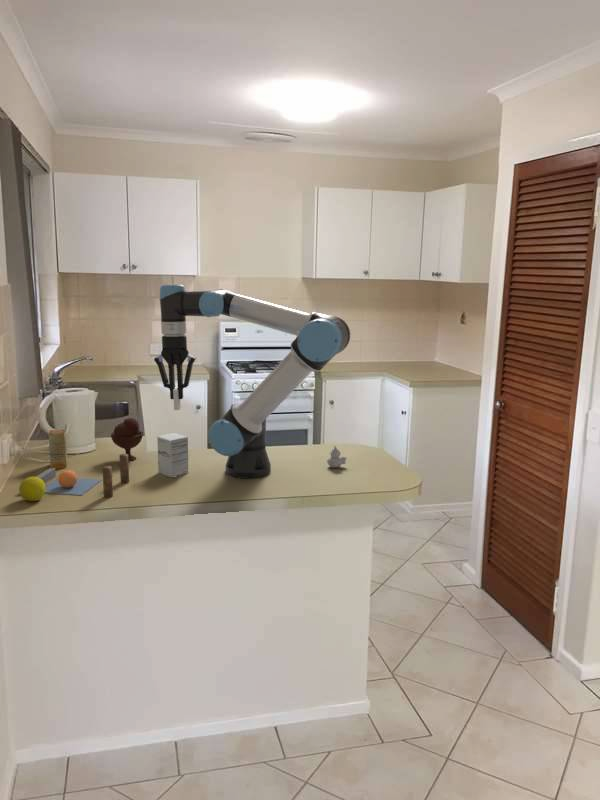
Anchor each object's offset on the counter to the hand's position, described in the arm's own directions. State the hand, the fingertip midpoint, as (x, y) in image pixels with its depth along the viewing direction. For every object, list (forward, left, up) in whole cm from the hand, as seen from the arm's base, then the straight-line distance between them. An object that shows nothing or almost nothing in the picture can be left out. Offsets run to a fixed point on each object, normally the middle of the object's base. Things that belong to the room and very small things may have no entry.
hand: (177, 409), depth 207 cm
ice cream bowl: (+23, -15, -23) cm, 36 cm away
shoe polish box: (+43, -4, -23) cm, 49 cm away
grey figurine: (-50, -20, -23) cm, 58 cm away
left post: (+15, +20, -23) cm, 34 cm away
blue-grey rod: (+40, +14, -23) cm, 48 cm away
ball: (+30, +15, -20) cm, 39 cm away
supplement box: (+3, -4, -23) cm, 24 cm away
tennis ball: (+35, +27, -23) cm, 50 cm away
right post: (+15, +8, -23) cm, 28 cm away
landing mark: (+30, +14, -23) cm, 40 cm away
